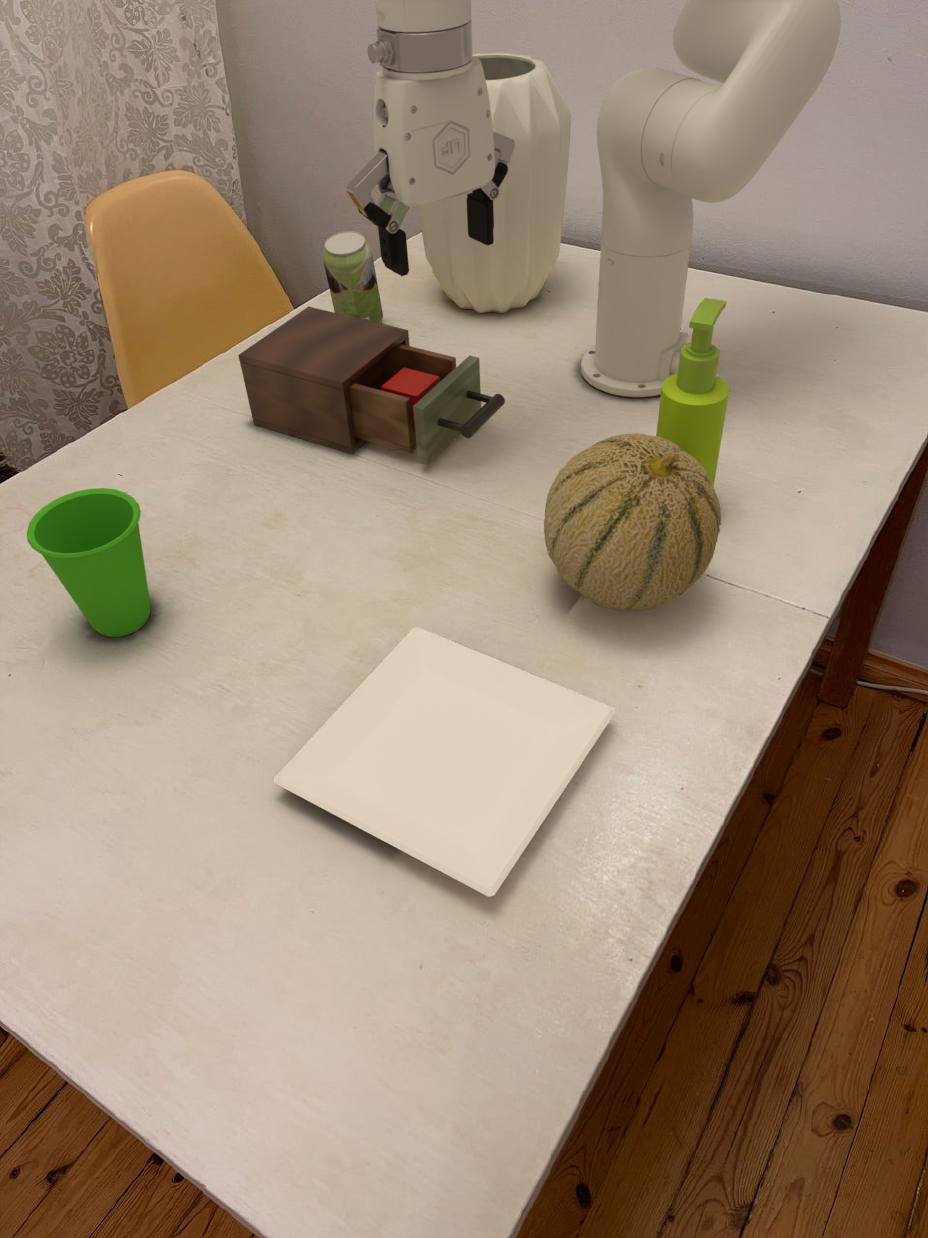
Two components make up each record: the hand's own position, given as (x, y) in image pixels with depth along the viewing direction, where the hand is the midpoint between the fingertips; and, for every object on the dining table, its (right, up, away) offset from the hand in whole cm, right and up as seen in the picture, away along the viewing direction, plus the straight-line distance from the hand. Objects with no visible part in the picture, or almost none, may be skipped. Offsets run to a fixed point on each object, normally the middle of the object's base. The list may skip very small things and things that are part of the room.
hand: (439, 255), depth 90 cm
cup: (-28, -34, -4) cm, 44 cm away
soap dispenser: (+24, -23, +5) cm, 33 cm away
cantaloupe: (+17, -31, -4) cm, 36 cm away
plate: (+1, -45, -17) cm, 48 cm away
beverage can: (-11, +3, +35) cm, 37 cm away
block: (-3, -12, +15) cm, 19 cm away
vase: (+6, +10, +40) cm, 42 cm away
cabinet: (-12, -10, +20) cm, 26 cm away
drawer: (-2, -13, +15) cm, 20 cm away
